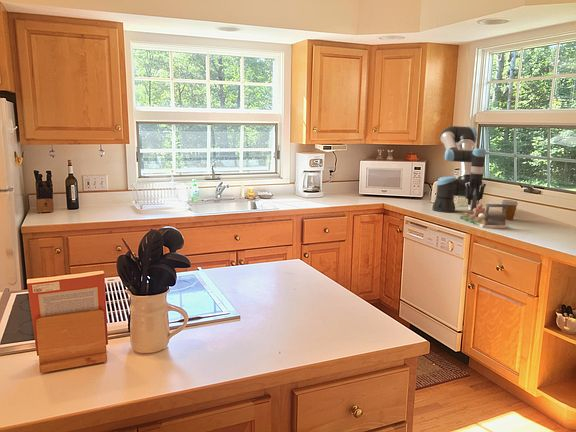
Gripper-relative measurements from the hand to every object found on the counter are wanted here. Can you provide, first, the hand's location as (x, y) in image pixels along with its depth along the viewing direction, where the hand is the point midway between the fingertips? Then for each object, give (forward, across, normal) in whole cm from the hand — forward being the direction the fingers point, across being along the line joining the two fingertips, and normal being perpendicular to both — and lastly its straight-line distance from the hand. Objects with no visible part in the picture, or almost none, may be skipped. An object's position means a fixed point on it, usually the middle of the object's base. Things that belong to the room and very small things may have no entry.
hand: (472, 209), depth 304 cm
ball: (+2, 0, -11) cm, 11 cm away
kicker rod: (+4, 0, -4) cm, 5 cm away
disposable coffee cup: (+6, +24, -2) cm, 25 cm away
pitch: (+6, 0, -13) cm, 14 cm away
